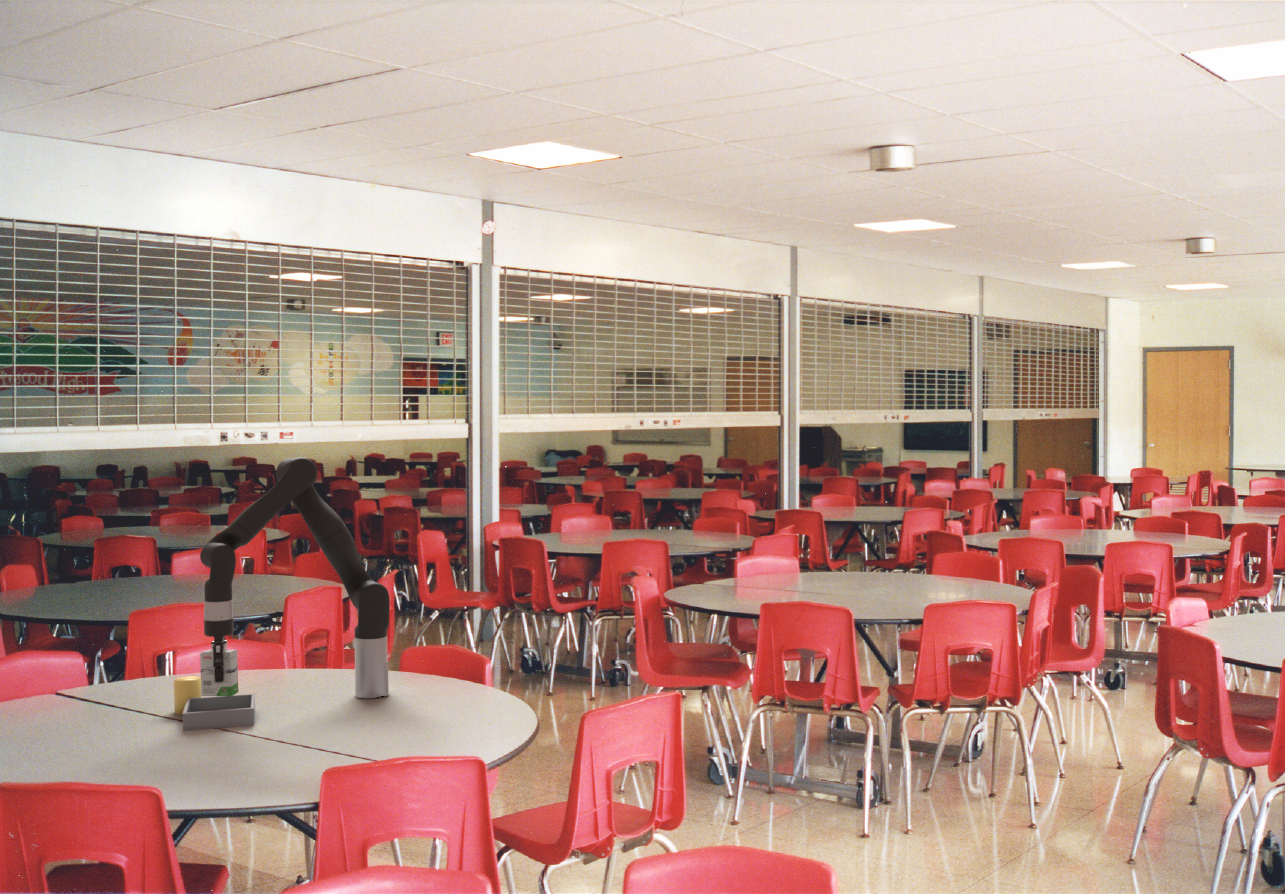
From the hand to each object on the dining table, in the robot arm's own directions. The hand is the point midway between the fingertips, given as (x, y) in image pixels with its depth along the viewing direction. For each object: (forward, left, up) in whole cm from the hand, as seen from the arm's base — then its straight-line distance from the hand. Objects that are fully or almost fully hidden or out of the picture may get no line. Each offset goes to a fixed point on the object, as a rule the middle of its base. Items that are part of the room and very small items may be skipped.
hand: (219, 678), depth 327 cm
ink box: (0, 0, -4) cm, 4 cm away
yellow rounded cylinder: (+9, -13, -11) cm, 19 cm away
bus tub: (0, 0, -11) cm, 11 cm away
